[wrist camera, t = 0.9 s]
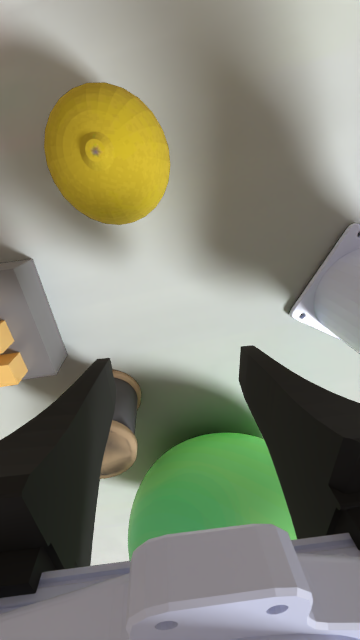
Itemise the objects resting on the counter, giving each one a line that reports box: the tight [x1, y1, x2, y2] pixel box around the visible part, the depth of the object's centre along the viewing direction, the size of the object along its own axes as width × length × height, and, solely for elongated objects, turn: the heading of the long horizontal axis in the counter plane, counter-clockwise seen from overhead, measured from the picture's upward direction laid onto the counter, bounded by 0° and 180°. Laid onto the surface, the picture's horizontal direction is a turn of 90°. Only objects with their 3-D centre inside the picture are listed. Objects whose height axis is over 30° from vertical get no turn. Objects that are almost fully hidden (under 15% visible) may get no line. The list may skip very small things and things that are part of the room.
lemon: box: [44, 83, 170, 225], centre depth 12 cm, size 6×6×8 cm
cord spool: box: [100, 370, 141, 479], centre depth 21 cm, size 6×6×6 cm
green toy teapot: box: [128, 433, 297, 561], centre depth 22 cm, size 18×17×15 cm
